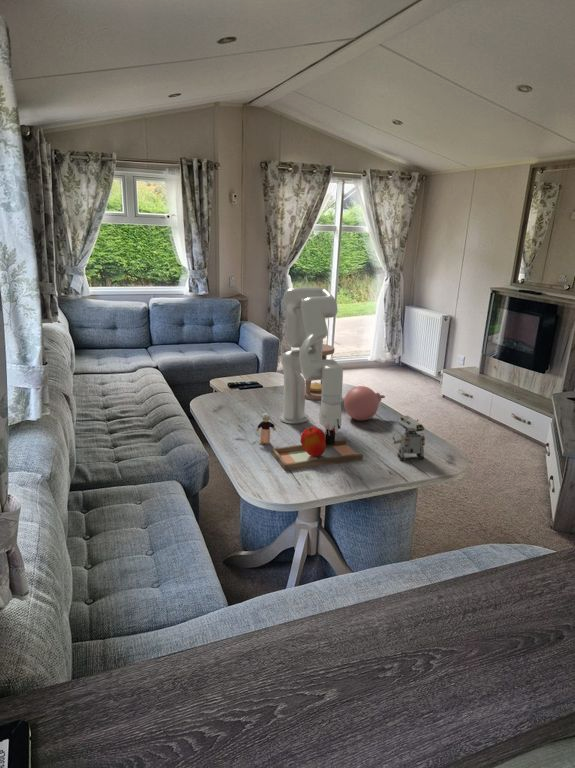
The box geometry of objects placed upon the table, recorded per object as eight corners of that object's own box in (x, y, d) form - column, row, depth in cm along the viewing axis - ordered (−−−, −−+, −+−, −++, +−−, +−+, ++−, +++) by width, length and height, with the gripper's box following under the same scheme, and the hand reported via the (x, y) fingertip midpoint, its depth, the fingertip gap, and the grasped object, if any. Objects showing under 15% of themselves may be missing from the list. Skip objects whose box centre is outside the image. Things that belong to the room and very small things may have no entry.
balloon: (392, 422, 237) (395, 389, 232) (352, 427, 230) (354, 393, 225) (375, 411, 250) (377, 379, 246) (337, 415, 244) (339, 383, 239)
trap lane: (271, 453, 202) (271, 448, 201) (345, 444, 212) (345, 439, 211) (284, 470, 188) (284, 465, 188) (362, 459, 199) (363, 454, 198)
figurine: (413, 449, 208) (416, 413, 204) (425, 461, 198) (429, 424, 193) (391, 450, 207) (394, 414, 203) (402, 463, 196) (405, 425, 192)
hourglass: (316, 387, 284) (317, 342, 277) (339, 395, 272) (341, 348, 264) (291, 393, 273) (292, 346, 266) (314, 402, 261) (316, 353, 253)
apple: (302, 461, 198) (293, 433, 194) (311, 449, 206) (303, 422, 202) (324, 461, 194) (316, 432, 190) (332, 448, 201) (325, 420, 197)
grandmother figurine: (257, 445, 209) (257, 415, 205) (255, 442, 212) (255, 412, 209) (276, 444, 211) (276, 414, 207) (274, 440, 214) (274, 410, 211)
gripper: (314, 393, 200) (313, 438, 205) (331, 404, 187) (329, 453, 192) (332, 391, 203) (330, 436, 208) (350, 402, 189) (347, 450, 194)
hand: (330, 444), depth 200 cm, fingers closed
